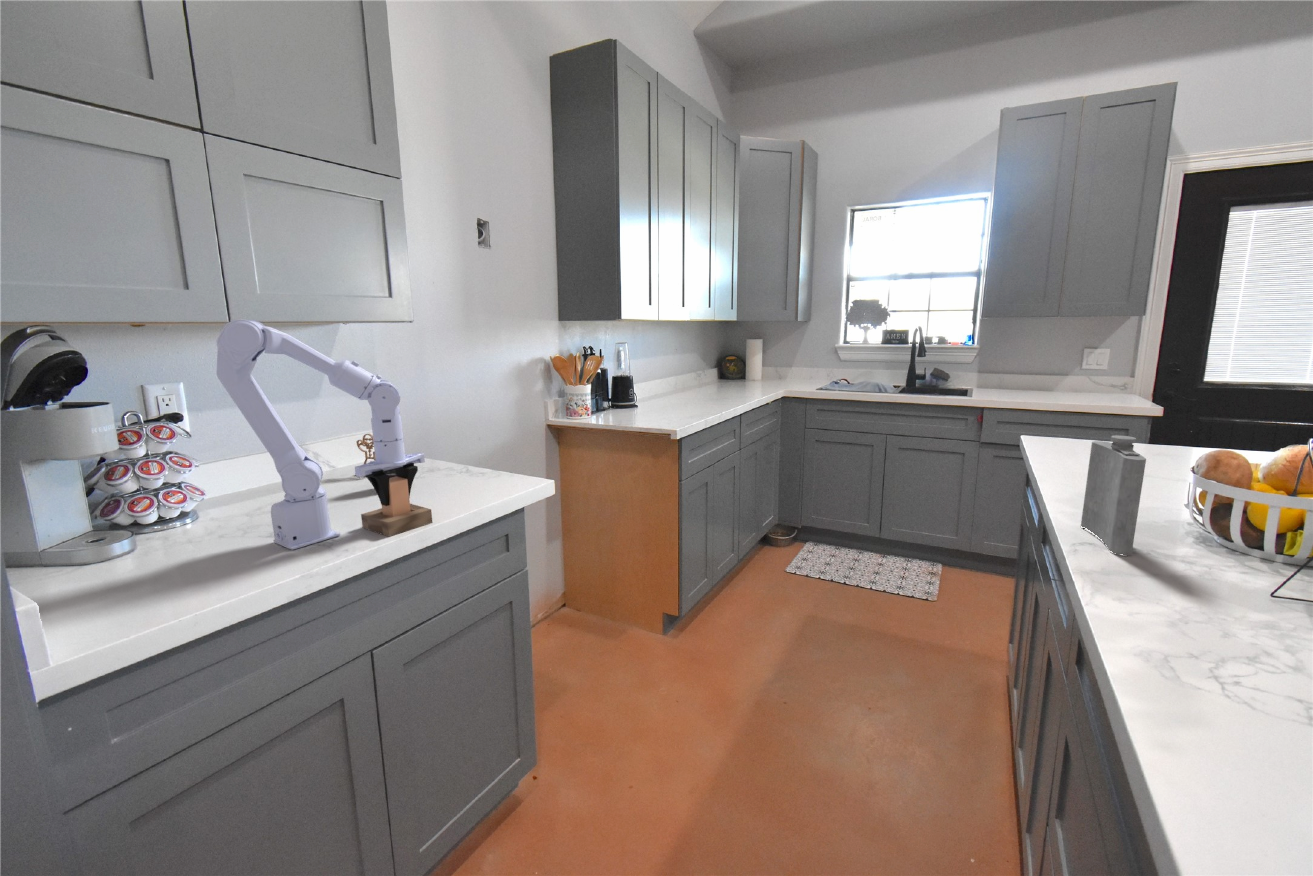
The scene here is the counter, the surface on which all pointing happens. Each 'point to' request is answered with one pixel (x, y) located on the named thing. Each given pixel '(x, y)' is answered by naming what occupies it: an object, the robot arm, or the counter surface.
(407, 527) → the socket block
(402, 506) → the peg
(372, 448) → the gingerbread man figurine
